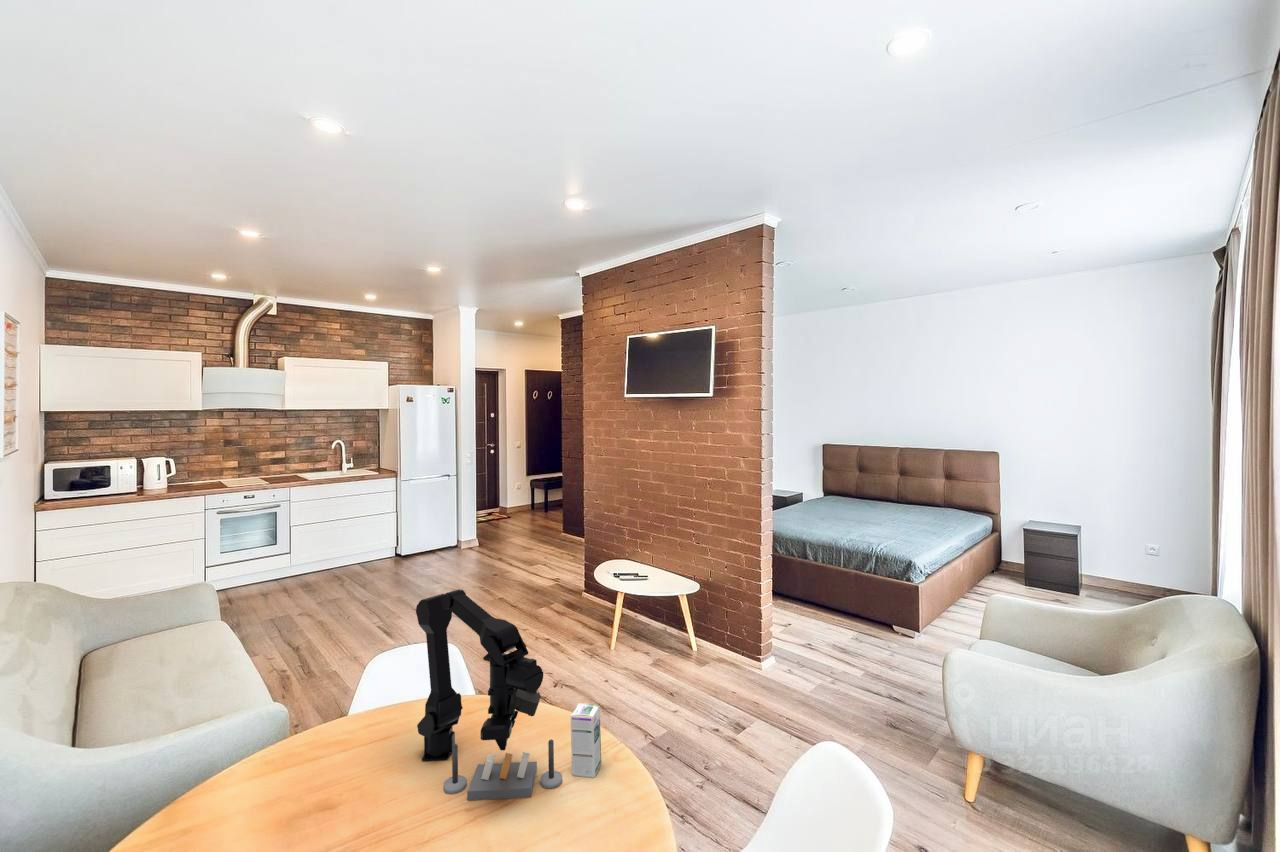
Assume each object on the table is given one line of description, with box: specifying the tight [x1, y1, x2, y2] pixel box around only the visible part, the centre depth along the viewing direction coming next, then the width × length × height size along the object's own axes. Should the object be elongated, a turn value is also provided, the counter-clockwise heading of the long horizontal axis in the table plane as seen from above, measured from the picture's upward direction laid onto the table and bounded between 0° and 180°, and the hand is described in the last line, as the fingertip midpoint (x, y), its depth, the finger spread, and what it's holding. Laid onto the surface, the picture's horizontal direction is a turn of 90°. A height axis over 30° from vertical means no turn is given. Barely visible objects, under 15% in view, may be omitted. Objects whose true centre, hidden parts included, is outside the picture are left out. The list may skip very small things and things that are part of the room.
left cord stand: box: [443, 743, 468, 795], centre depth 125 cm, size 5×5×10 cm
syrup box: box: [570, 703, 602, 779], centre depth 131 cm, size 6×6×14 cm
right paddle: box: [517, 751, 531, 778], centre depth 126 cm, size 2×3×4 cm, turn 3°
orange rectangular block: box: [499, 752, 513, 779], centre depth 125 cm, size 2×3×4 cm, turn 3°
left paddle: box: [481, 753, 496, 780], centre depth 125 cm, size 2×3×4 cm, turn 3°
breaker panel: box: [466, 760, 538, 802], centre depth 125 cm, size 14×10×2 cm
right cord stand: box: [539, 738, 563, 790], centre depth 126 cm, size 5×5×10 cm
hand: (503, 749), depth 126 cm, fingers closed
